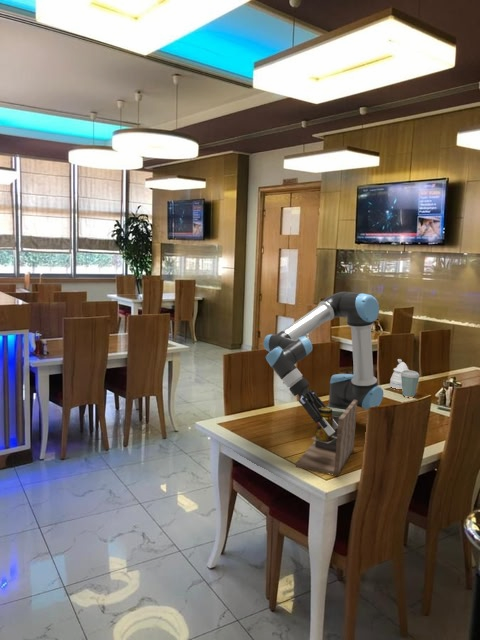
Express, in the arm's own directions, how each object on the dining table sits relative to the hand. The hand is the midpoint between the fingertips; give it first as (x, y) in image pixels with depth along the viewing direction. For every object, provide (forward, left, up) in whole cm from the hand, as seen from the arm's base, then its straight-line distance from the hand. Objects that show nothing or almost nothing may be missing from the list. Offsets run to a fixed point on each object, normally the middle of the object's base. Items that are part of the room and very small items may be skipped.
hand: (334, 431), depth 188 cm
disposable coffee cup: (-89, -81, -14) cm, 121 cm away
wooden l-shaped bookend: (-1, -6, -13) cm, 15 cm away
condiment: (+2, -3, -4) cm, 6 cm away
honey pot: (-96, -99, -14) cm, 139 cm away
